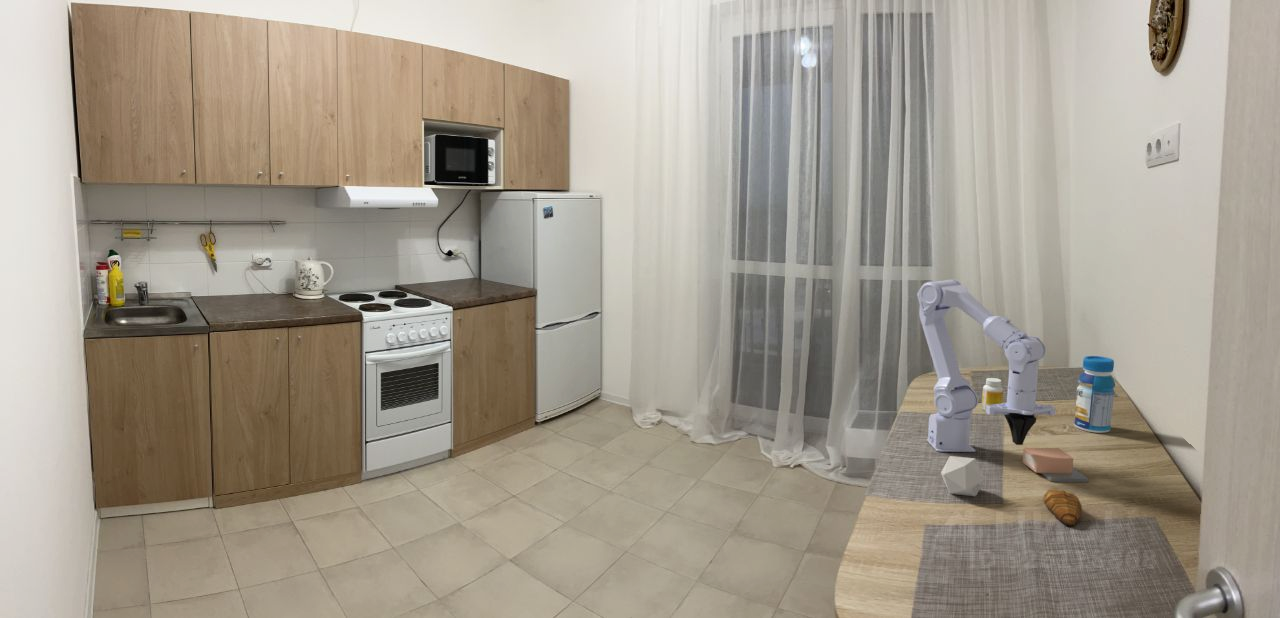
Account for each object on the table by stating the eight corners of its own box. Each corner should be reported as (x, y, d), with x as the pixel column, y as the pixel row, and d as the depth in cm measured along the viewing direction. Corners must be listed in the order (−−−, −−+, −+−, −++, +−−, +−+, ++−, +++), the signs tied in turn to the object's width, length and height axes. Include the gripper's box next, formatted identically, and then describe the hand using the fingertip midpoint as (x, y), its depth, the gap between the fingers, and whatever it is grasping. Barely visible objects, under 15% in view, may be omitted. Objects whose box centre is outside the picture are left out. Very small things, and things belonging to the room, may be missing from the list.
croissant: (1090, 532, 120) (1093, 508, 119) (1050, 526, 123) (1052, 503, 122) (1071, 500, 133) (1073, 478, 132) (1034, 495, 135) (1036, 474, 134)
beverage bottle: (1106, 436, 165) (1114, 364, 162) (1069, 428, 171) (1075, 359, 168) (1114, 428, 171) (1121, 358, 167) (1078, 420, 177) (1084, 353, 173)
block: (1037, 458, 143) (1073, 458, 142) (1023, 447, 149) (1058, 448, 148) (1036, 472, 144) (1072, 472, 143) (1022, 461, 149) (1057, 462, 149)
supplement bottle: (977, 408, 190) (979, 378, 188) (992, 406, 191) (994, 376, 189) (990, 413, 185) (992, 382, 183) (1005, 411, 186) (1008, 381, 184)
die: (971, 508, 131) (998, 471, 131) (934, 482, 135) (959, 446, 134) (965, 504, 139) (990, 469, 139) (929, 479, 142) (954, 446, 142)
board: (1050, 481, 141) (1050, 478, 141) (1023, 459, 153) (1024, 456, 152) (1087, 482, 140) (1088, 478, 140) (1058, 460, 152) (1058, 457, 151)
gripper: (997, 393, 141) (993, 449, 143) (1064, 393, 139) (1059, 450, 141) (983, 384, 147) (979, 438, 150) (1047, 384, 146) (1043, 438, 148)
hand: (1017, 443), depth 146 cm, fingers closed
